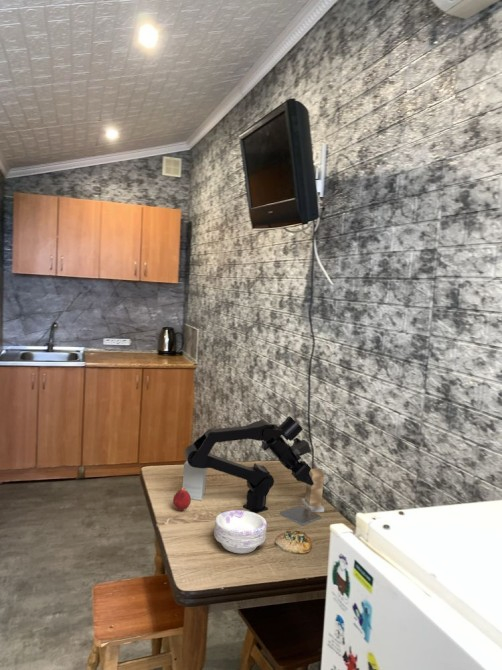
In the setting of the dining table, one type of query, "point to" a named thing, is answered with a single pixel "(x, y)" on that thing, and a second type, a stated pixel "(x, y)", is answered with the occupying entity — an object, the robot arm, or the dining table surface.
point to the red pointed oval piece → (182, 499)
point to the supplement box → (194, 481)
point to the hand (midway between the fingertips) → (307, 479)
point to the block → (314, 491)
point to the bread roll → (294, 542)
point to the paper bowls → (240, 530)
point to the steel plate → (300, 515)
